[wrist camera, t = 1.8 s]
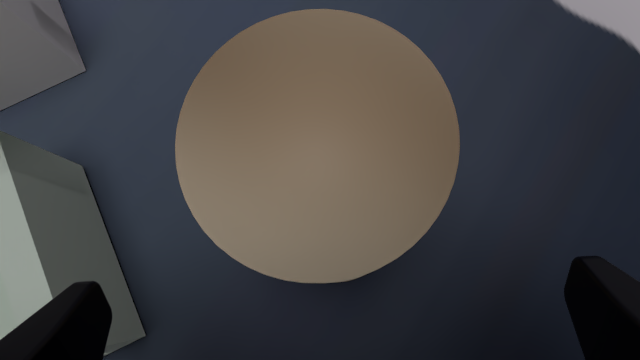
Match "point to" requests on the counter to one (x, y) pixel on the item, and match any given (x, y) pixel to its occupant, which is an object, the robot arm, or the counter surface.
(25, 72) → the backstop wall
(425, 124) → the dowel
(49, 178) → the cradle
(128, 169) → the counter surface
